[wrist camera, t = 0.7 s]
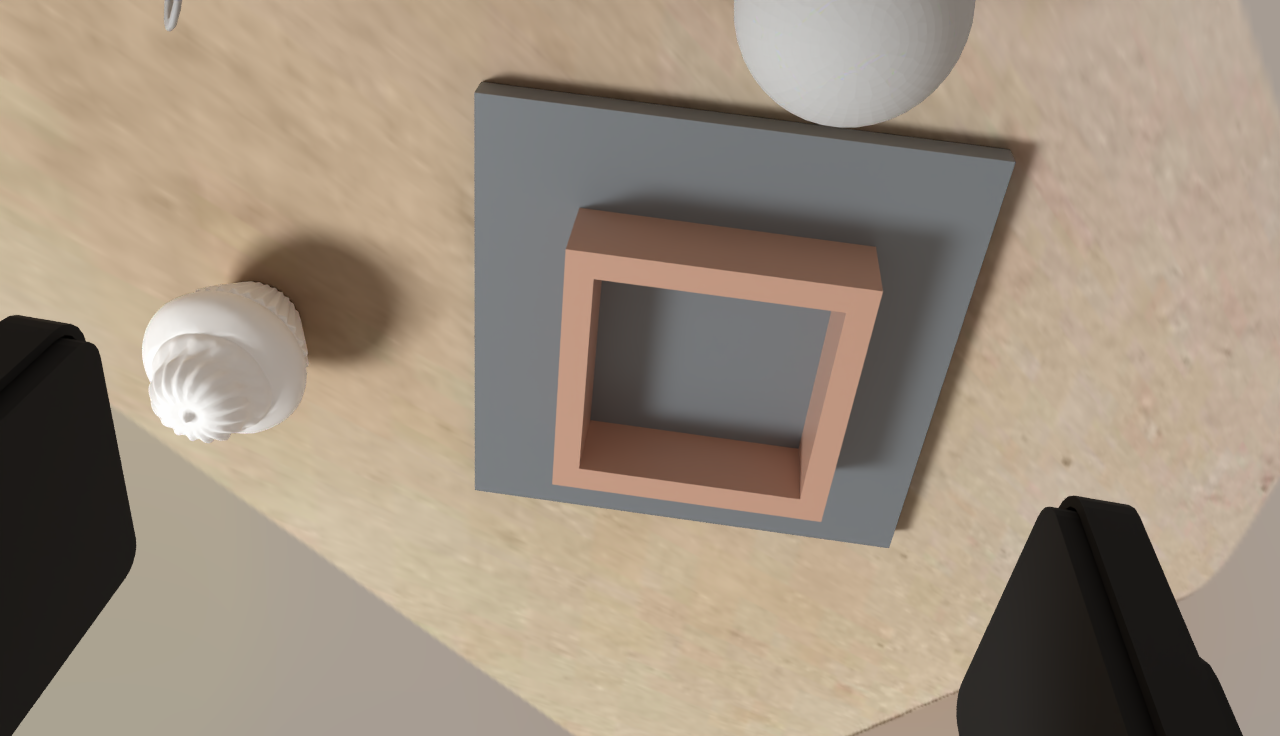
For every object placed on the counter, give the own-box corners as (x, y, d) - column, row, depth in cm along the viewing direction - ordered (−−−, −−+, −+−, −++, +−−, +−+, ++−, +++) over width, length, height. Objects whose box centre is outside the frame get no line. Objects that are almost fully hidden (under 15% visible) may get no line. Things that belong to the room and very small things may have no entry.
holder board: (481, 81, 36) (451, 128, 33) (1009, 149, 35) (1033, 203, 32) (480, 474, 46) (458, 539, 43) (886, 531, 46) (895, 601, 43)
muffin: (292, 233, 40) (213, 334, 35) (362, 361, 43) (300, 472, 38) (157, 267, 42) (60, 368, 36) (234, 388, 45) (156, 499, 39)
